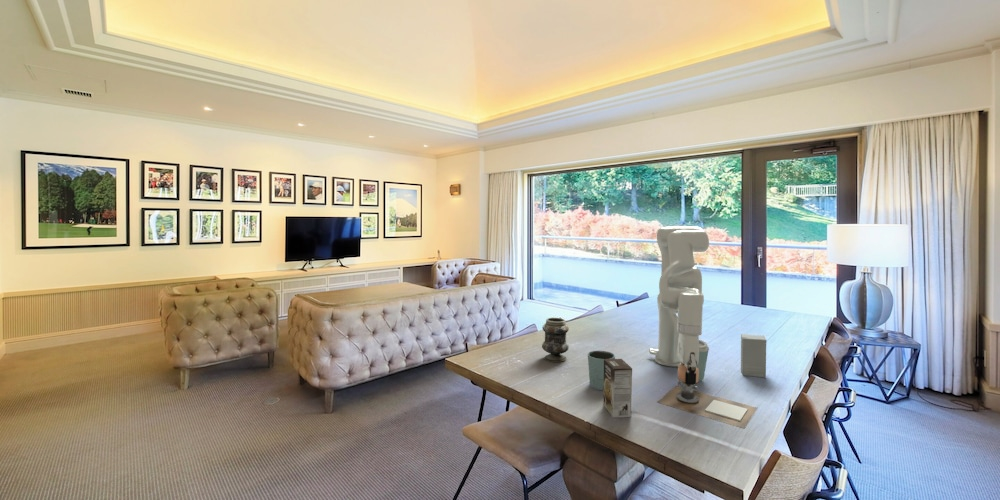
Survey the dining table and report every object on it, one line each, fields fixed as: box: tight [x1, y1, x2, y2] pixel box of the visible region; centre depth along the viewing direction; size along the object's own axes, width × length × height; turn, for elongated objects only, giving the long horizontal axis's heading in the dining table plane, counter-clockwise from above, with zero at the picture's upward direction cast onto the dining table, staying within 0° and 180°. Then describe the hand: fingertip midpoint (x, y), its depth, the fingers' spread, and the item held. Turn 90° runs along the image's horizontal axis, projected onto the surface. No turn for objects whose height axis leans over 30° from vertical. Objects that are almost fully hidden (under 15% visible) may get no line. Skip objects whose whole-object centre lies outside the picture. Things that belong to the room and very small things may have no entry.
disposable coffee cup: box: [682, 339, 710, 382], centre depth 157 cm, size 11×11×15 cm
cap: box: [677, 363, 699, 383], centre depth 137 cm, size 6×6×5 cm
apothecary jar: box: [541, 317, 570, 363], centre depth 182 cm, size 12×12×18 cm
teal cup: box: [587, 350, 616, 391], centre depth 152 cm, size 10×10×12 cm
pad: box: [705, 400, 748, 421], centre depth 130 cm, size 10×10×1 cm
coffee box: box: [602, 358, 633, 418], centre depth 132 cm, size 9×6×16 cm
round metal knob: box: [676, 380, 699, 404], centre depth 138 cm, size 7×7×7 cm
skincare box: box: [740, 333, 768, 378], centre depth 162 cm, size 8×7×16 cm
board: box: [656, 385, 758, 430], centre depth 134 cm, size 26×18×1 cm
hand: (687, 379), depth 138 cm, fingers closed on cap, 6 cm apart
